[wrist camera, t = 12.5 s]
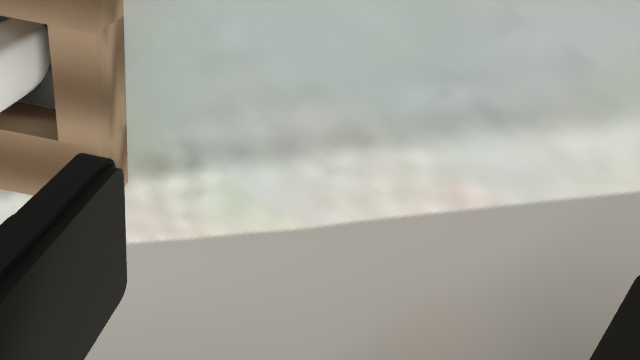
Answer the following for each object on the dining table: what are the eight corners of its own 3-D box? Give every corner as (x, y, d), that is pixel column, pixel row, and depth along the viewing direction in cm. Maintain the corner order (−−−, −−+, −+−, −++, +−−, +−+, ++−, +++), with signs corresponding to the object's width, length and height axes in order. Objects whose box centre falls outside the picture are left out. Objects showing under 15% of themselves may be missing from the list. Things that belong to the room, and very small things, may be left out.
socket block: (-96, -105, 37) (-148, -99, 33) (121, -64, 36) (90, -54, 33) (-46, 146, 46) (-82, 171, 43) (127, 181, 45) (104, 210, 42)
